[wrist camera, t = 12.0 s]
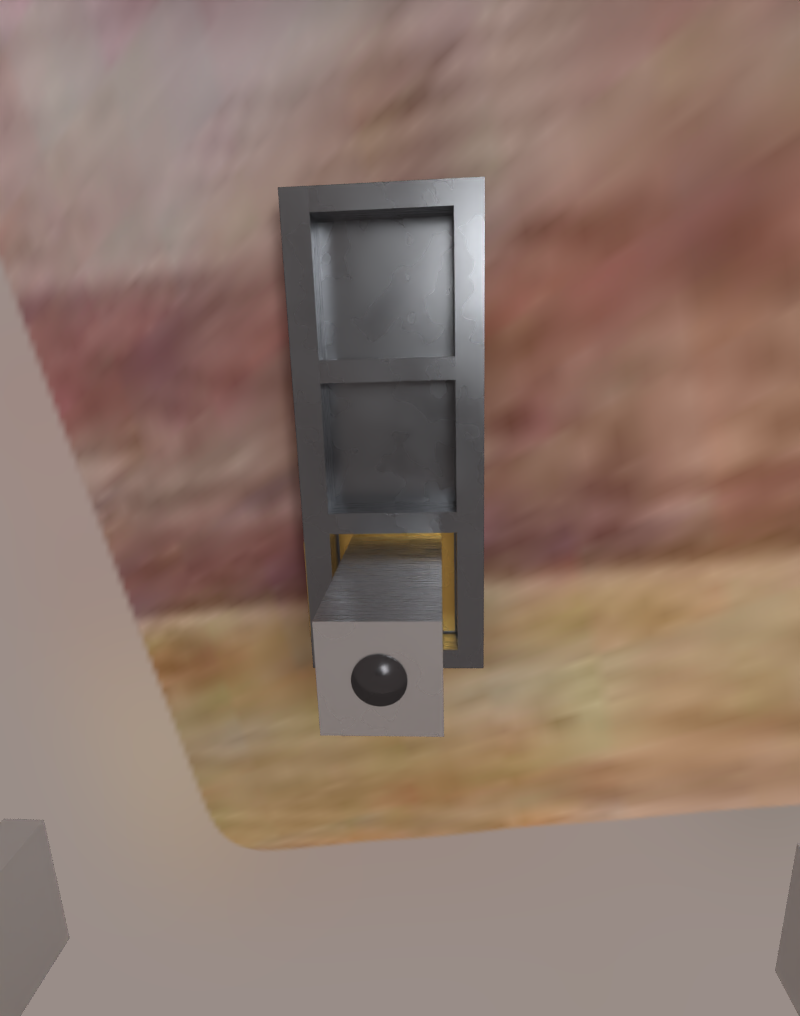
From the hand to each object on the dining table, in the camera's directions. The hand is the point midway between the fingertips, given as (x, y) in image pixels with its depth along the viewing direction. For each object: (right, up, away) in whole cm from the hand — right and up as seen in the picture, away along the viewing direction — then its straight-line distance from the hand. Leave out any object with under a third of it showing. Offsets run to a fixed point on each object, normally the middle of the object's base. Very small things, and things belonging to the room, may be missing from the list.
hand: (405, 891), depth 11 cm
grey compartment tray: (0, +10, +19) cm, 22 cm away
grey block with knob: (0, +3, +20) cm, 21 cm away
